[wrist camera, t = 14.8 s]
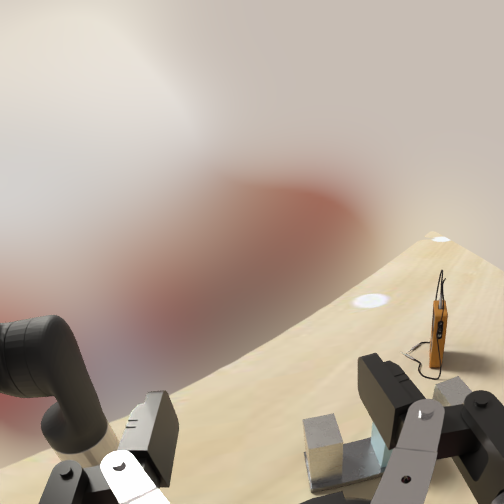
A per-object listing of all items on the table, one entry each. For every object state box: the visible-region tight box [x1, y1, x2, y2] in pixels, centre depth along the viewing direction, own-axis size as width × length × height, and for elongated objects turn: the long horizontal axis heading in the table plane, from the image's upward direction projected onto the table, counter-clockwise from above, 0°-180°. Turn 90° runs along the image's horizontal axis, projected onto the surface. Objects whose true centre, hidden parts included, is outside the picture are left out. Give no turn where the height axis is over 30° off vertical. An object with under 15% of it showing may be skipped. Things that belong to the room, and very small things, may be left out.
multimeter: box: [401, 270, 448, 380], centre depth 59 cm, size 15×10×20 cm
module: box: [371, 422, 393, 468], centre depth 38 cm, size 4×6×9 cm
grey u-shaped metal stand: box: [303, 376, 472, 493], centre depth 38 cm, size 26×8×10 cm, turn 91°
